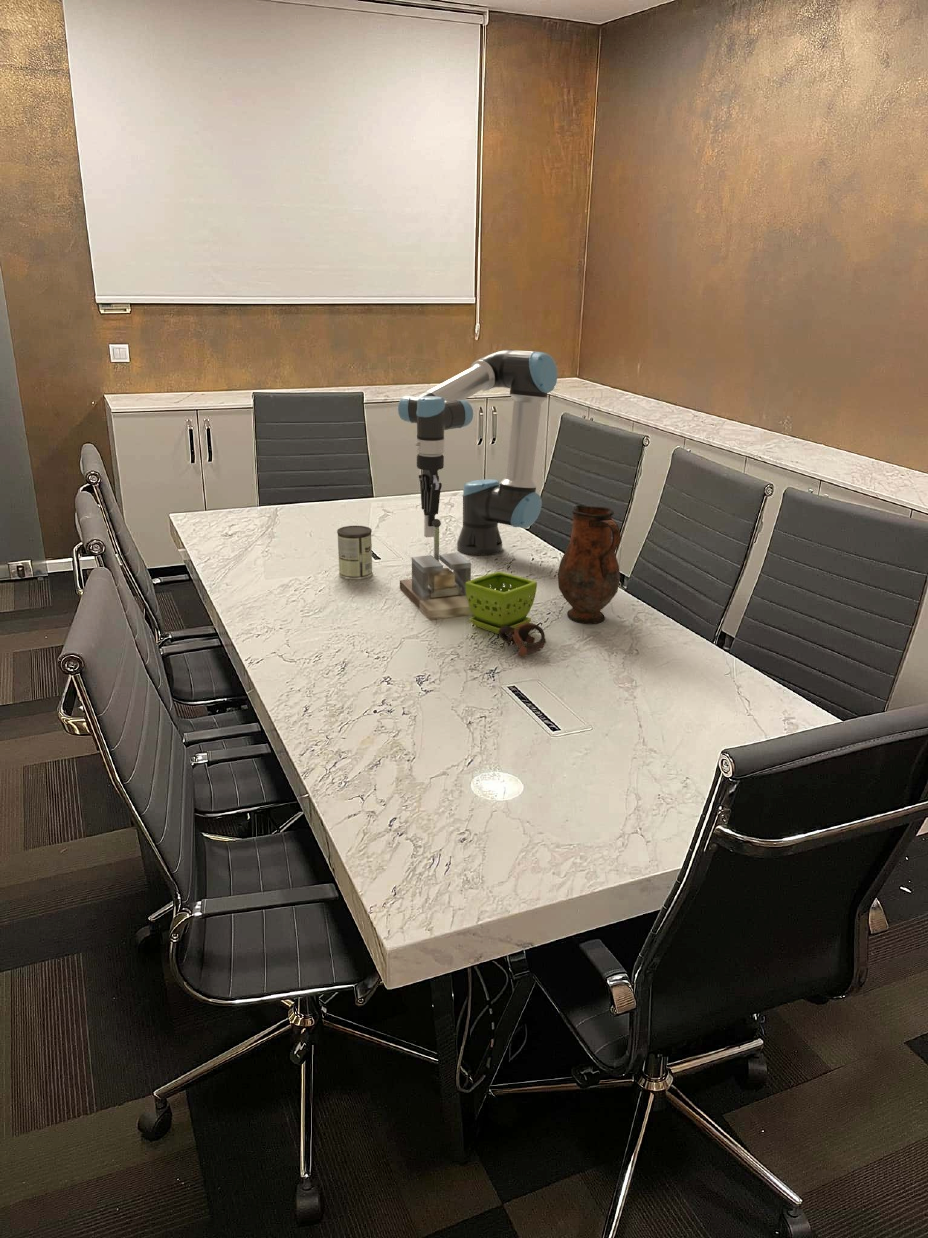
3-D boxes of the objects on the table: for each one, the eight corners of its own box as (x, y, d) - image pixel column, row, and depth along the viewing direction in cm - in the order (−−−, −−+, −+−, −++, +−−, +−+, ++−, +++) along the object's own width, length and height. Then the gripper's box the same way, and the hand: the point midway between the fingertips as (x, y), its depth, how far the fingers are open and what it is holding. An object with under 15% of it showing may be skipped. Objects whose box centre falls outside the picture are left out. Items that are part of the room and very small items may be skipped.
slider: (449, 583, 267) (450, 516, 260) (461, 594, 259) (462, 525, 252) (420, 586, 264) (419, 519, 257) (431, 597, 256) (431, 528, 249)
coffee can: (342, 568, 288) (341, 524, 283) (375, 570, 287) (374, 526, 282) (335, 579, 278) (333, 533, 273) (368, 580, 277) (368, 535, 272)
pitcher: (596, 603, 262) (603, 499, 251) (637, 629, 244) (646, 518, 233) (543, 610, 256) (549, 504, 245) (581, 637, 238) (589, 524, 227)
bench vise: (451, 582, 277) (451, 544, 272) (484, 613, 253) (485, 571, 249) (399, 588, 271) (399, 548, 267) (429, 619, 248) (429, 577, 244)
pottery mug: (544, 645, 234) (552, 625, 228) (535, 673, 228) (543, 653, 222) (499, 630, 235) (505, 609, 229) (489, 657, 229) (495, 637, 223)
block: (447, 587, 265) (447, 567, 263) (454, 594, 260) (454, 573, 258) (427, 589, 263) (427, 569, 261) (434, 596, 258) (434, 576, 256)
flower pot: (537, 626, 245) (539, 581, 240) (502, 641, 235) (504, 594, 230) (497, 613, 253) (498, 569, 249) (462, 626, 244) (463, 581, 239)
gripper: (410, 450, 261) (410, 531, 269) (424, 459, 249) (424, 543, 258) (435, 449, 263) (434, 529, 271) (451, 457, 252) (449, 541, 260)
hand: (429, 536), depth 265 cm, fingers closed
